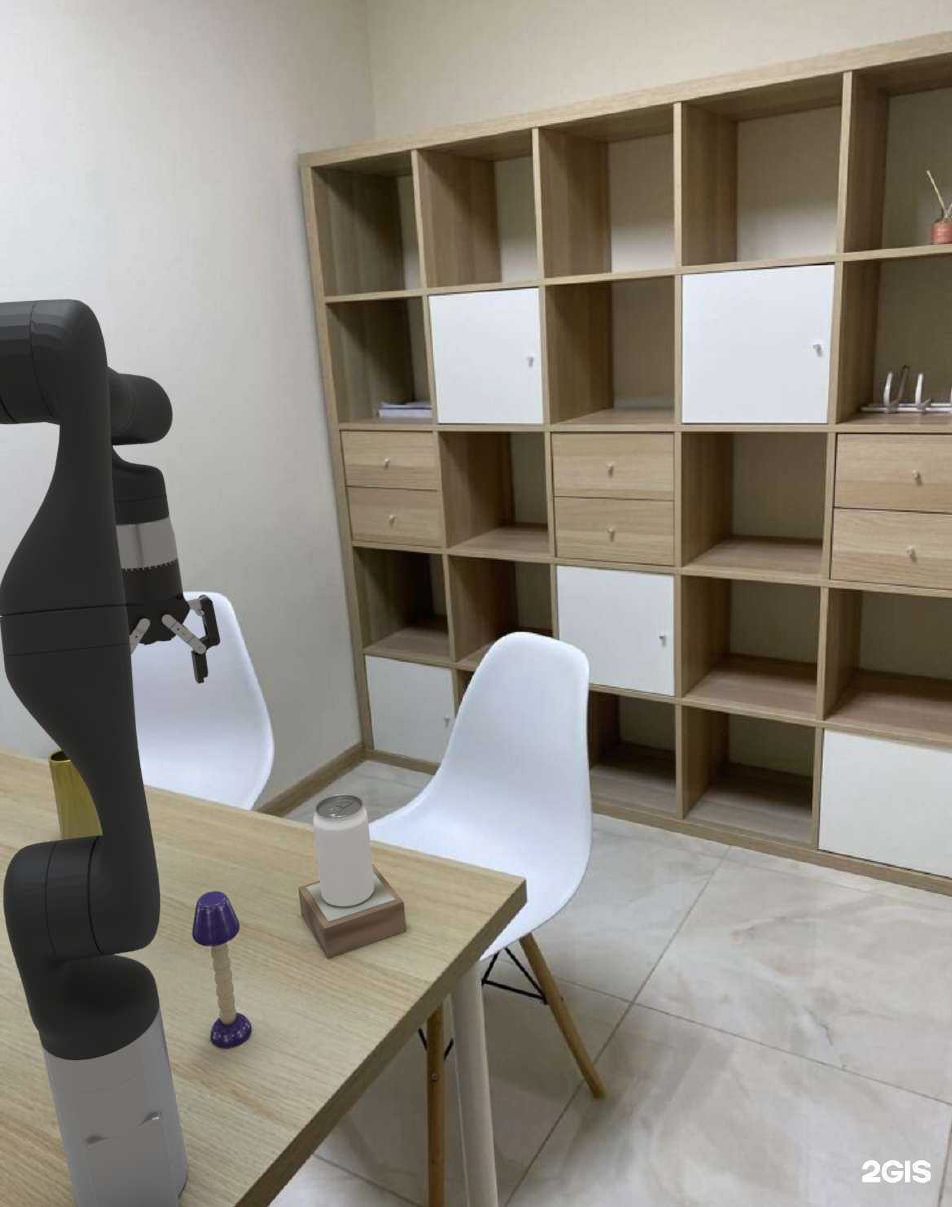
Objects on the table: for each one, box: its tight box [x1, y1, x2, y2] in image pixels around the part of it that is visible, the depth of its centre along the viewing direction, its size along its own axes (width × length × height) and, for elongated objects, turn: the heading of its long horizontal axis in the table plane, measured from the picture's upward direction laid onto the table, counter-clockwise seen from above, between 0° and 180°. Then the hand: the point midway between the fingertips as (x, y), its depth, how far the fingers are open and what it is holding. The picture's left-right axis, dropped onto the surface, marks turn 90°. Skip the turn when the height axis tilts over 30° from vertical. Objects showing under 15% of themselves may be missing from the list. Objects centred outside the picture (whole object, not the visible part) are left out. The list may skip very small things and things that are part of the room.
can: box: [312, 793, 374, 907], centre depth 116 cm, size 6×6×12 cm
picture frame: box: [297, 863, 407, 959], centre depth 118 cm, size 10×10×4 cm
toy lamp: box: [191, 890, 253, 1049], centre depth 98 cm, size 5×5×17 cm
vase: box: [48, 748, 103, 840], centre depth 140 cm, size 6×6×14 cm
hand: (164, 688), depth 115 cm, fingers open, 8 cm apart
